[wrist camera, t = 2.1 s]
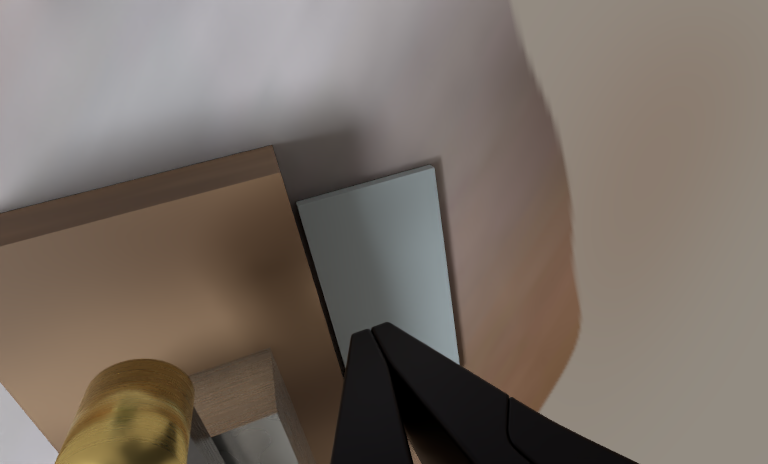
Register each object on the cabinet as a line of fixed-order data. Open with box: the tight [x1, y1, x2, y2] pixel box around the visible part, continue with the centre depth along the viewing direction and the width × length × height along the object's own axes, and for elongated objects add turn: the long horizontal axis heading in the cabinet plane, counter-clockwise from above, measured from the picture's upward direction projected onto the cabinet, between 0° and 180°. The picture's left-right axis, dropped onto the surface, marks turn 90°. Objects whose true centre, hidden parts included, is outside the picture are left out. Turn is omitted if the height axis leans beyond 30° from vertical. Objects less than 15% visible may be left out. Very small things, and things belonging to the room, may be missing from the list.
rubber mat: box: [296, 165, 460, 369], centre depth 17 cm, size 10×5×1 cm, turn 10°
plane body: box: [0, 145, 344, 464], centre depth 15 cm, size 16×8×3 cm, turn 10°
